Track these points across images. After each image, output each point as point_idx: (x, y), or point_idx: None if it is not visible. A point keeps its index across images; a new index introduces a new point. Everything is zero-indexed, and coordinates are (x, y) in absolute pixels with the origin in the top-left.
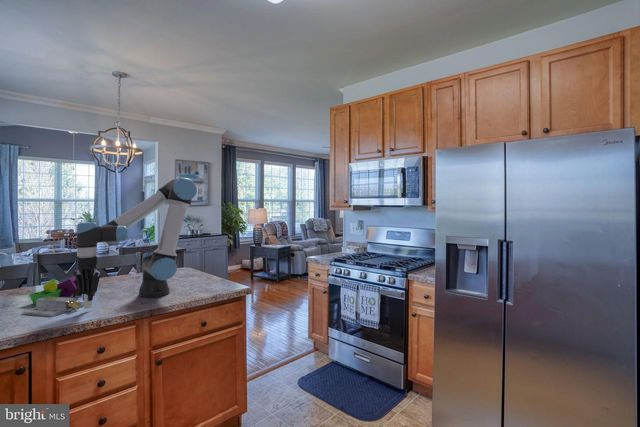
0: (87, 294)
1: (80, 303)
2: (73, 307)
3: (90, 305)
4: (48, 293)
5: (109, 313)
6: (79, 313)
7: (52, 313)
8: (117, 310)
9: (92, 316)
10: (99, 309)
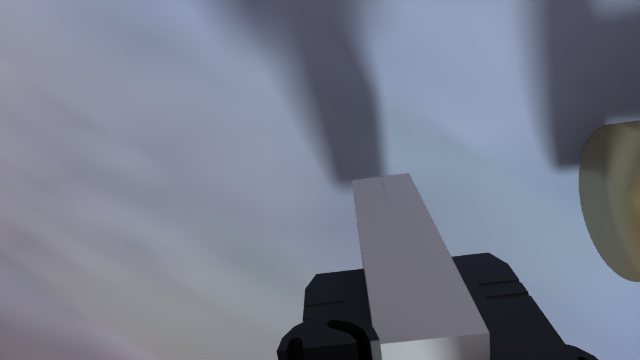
0: (309, 337)
1: (622, 269)
2: (614, 124)
3: (362, 262)
4: None
5: (10, 235)
6: (415, 92)
7: None
8: (52, 349)
9: (79, 57)
10: None
